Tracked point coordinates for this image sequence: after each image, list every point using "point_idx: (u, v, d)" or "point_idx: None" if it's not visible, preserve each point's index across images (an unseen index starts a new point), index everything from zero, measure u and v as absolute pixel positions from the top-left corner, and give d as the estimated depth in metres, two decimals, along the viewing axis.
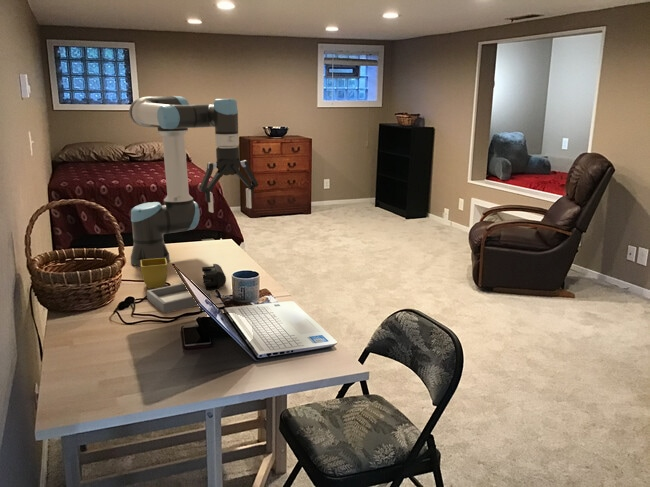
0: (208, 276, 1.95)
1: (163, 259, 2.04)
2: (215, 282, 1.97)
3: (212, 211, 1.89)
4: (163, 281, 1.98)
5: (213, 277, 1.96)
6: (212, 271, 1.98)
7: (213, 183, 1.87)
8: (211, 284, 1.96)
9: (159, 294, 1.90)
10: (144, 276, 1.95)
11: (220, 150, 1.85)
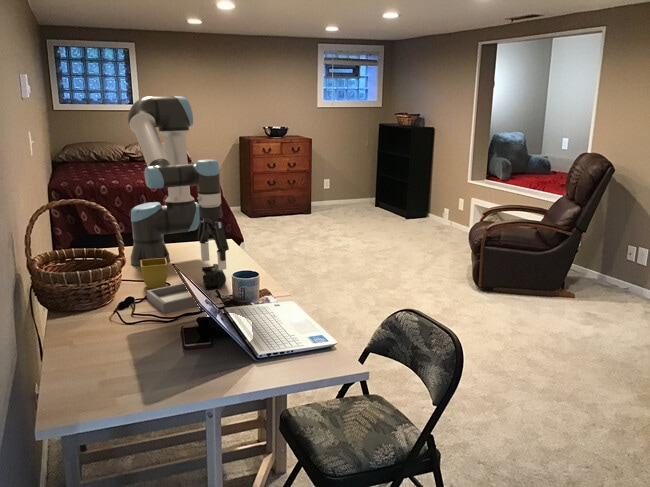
0: (208, 276, 1.95)
1: (163, 259, 2.04)
2: (215, 282, 1.97)
3: (202, 260, 2.04)
4: (163, 281, 1.98)
5: (213, 277, 1.96)
6: (212, 271, 1.98)
7: (201, 235, 2.01)
8: (211, 284, 1.96)
9: (159, 294, 1.90)
10: (144, 276, 1.95)
11: None
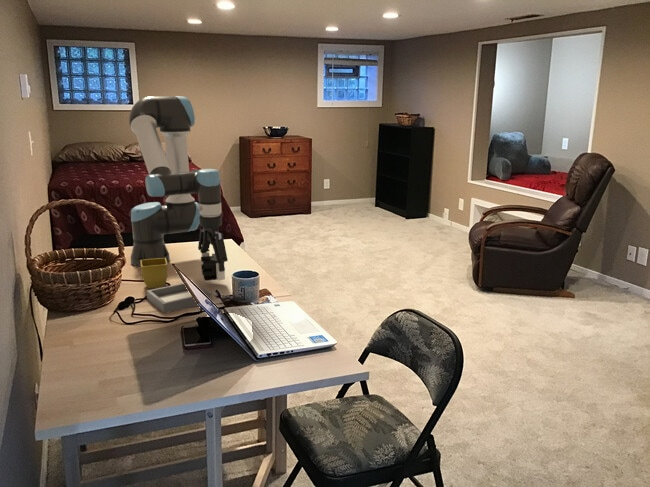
0: (207, 266, 1.95)
1: (163, 259, 2.04)
2: (214, 272, 1.96)
3: None
4: (163, 281, 1.98)
5: (212, 267, 1.96)
6: (211, 261, 1.97)
7: (202, 245, 2.02)
8: (210, 274, 1.96)
9: (159, 294, 1.90)
10: (144, 276, 1.95)
11: None
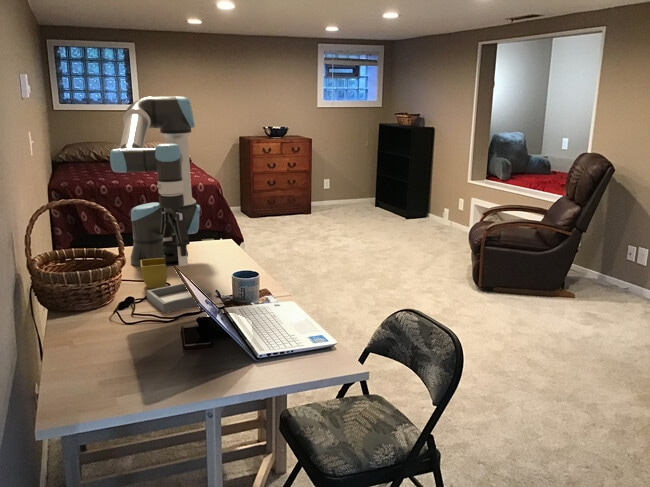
0: (168, 250, 1.77)
1: (163, 259, 2.04)
2: (176, 257, 1.79)
3: None
4: (163, 281, 1.98)
5: (173, 251, 1.78)
6: (173, 245, 1.80)
7: (164, 228, 1.84)
8: (171, 259, 1.78)
9: (159, 294, 1.90)
10: (144, 276, 1.95)
11: None
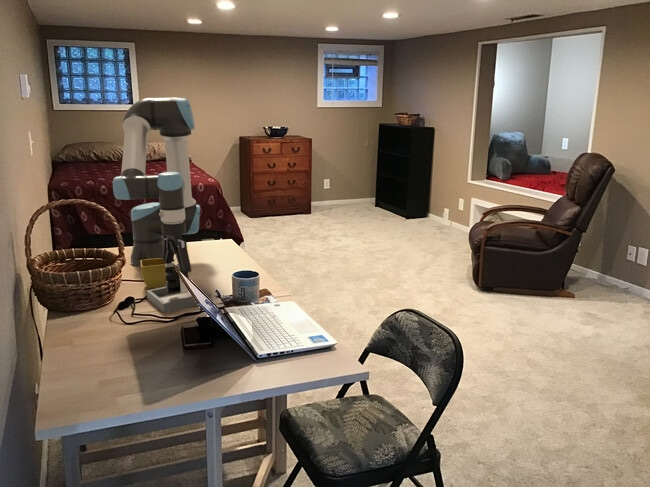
0: (170, 277, 1.80)
1: None
2: (178, 284, 1.81)
3: None
4: (163, 281, 1.98)
5: (175, 278, 1.80)
6: (175, 272, 1.82)
7: (166, 254, 1.87)
8: (173, 286, 1.81)
9: (159, 294, 1.90)
10: (144, 276, 1.95)
11: None
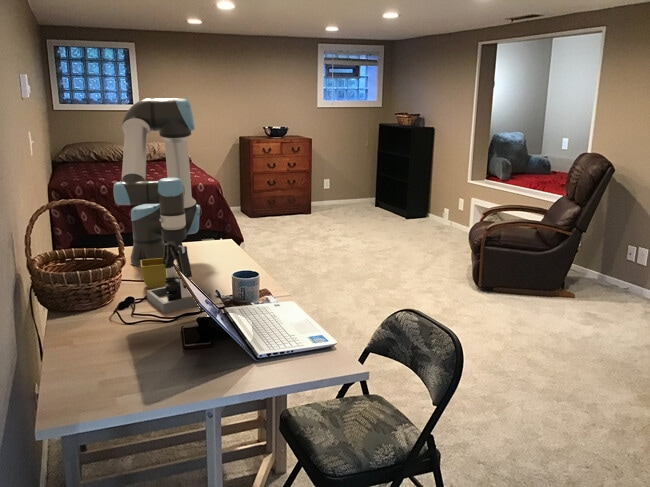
0: (171, 288, 1.81)
1: None
2: (179, 294, 1.82)
3: None
4: (163, 281, 1.98)
5: (176, 289, 1.82)
6: (176, 283, 1.83)
7: (166, 259, 1.87)
8: (174, 297, 1.82)
9: (159, 294, 1.90)
10: (144, 276, 1.95)
11: None
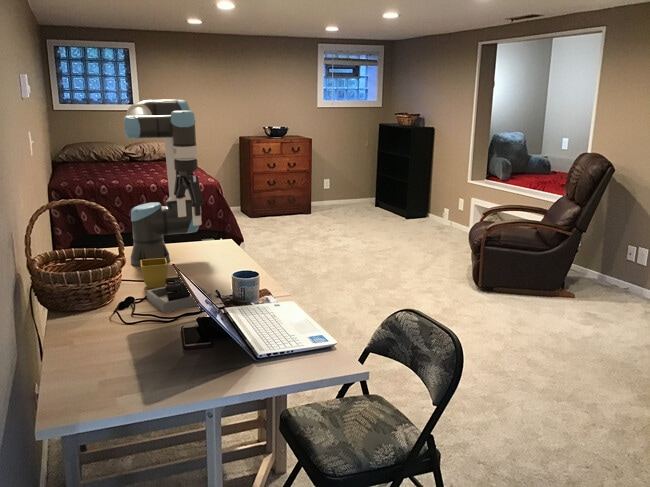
0: (171, 288, 1.81)
1: (163, 259, 2.04)
2: (179, 294, 1.82)
3: (178, 215, 1.99)
4: (163, 281, 1.98)
5: (176, 289, 1.82)
6: (176, 283, 1.83)
7: (178, 190, 1.95)
8: (174, 297, 1.82)
9: (159, 294, 1.90)
10: (144, 276, 1.95)
11: None
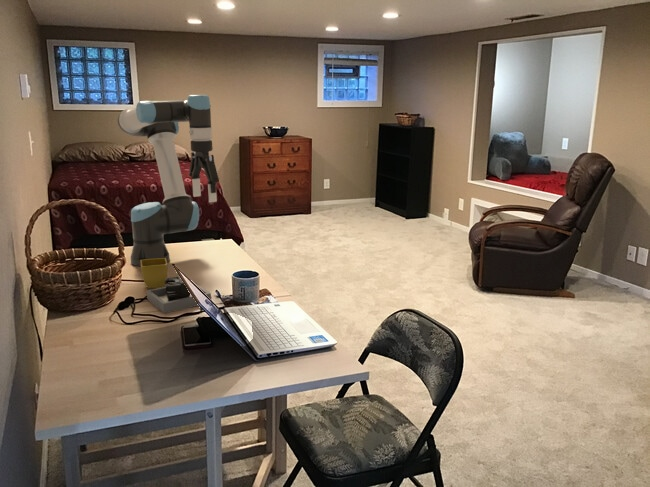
0: (171, 288, 1.81)
1: (163, 259, 2.04)
2: (179, 294, 1.82)
3: (193, 195, 2.11)
4: (163, 281, 1.98)
5: (176, 289, 1.82)
6: (176, 283, 1.83)
7: (193, 170, 2.08)
8: (174, 297, 1.82)
9: (159, 294, 1.90)
10: (144, 276, 1.95)
11: None
